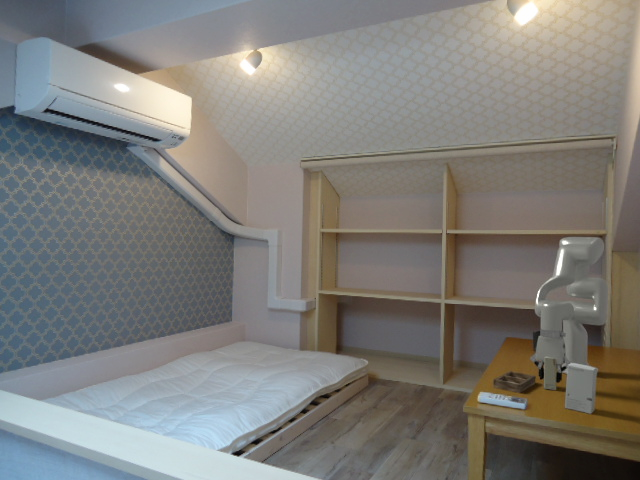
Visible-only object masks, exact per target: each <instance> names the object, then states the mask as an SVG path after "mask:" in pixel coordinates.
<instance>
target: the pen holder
mask: <svg viewBox="0 0 640 480" xmlns="http://www.w3.org/2000/svg"><path fill="white" fill-rule="evenodd" d="M540 331H541V330H537V331H532V345H533V346H532V347H533V348H532V349H533V351H534V352H536V348H537V342H538V337H539V336H540Z"/></svg>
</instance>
